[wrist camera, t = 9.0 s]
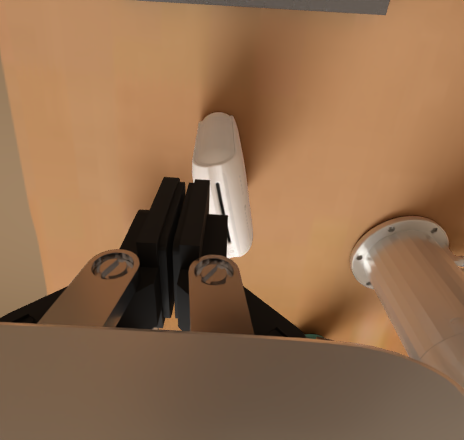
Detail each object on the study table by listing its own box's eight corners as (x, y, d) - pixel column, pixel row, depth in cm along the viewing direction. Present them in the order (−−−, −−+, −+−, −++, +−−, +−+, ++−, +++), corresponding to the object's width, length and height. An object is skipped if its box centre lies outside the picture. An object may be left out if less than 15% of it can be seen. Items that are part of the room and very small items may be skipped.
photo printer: (249, 194, 38) (259, 266, 28) (213, 200, 38) (210, 272, 28) (236, 107, 32) (242, 157, 22) (194, 114, 32) (182, 167, 22)
